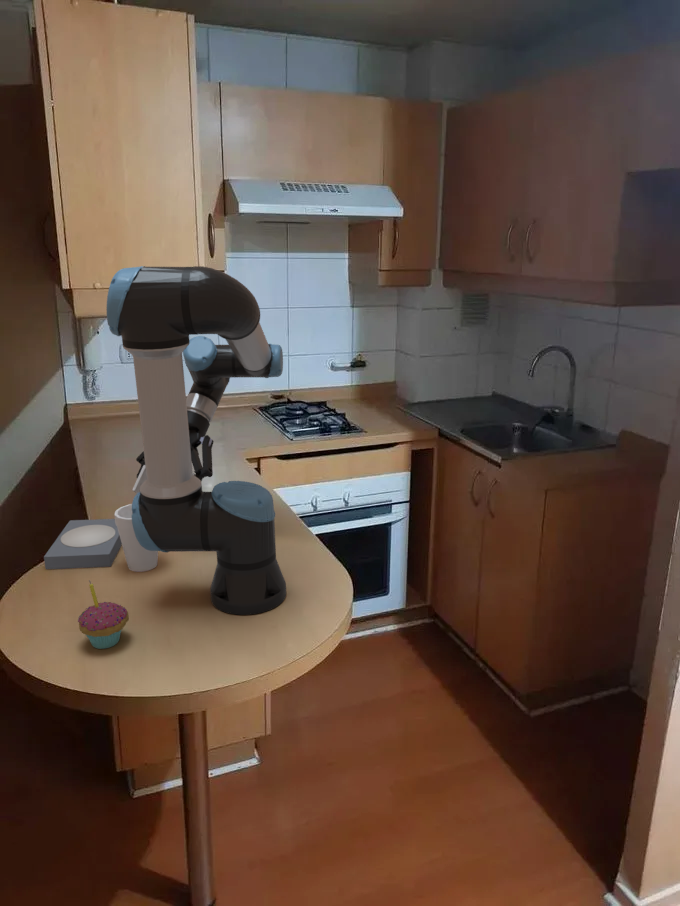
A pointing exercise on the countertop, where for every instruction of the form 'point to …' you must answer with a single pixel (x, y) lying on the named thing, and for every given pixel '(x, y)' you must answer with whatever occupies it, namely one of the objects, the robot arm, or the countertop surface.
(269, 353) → the robot arm
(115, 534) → the pedestal
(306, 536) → the countertop surface
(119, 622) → the cupcake
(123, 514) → the foam cup
